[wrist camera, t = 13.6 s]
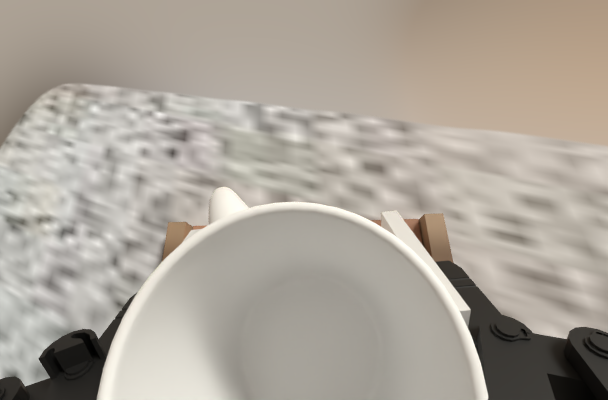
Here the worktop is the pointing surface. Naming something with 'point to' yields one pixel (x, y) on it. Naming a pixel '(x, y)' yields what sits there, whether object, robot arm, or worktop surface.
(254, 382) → the mug
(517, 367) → the robot arm
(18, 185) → the worktop surface
